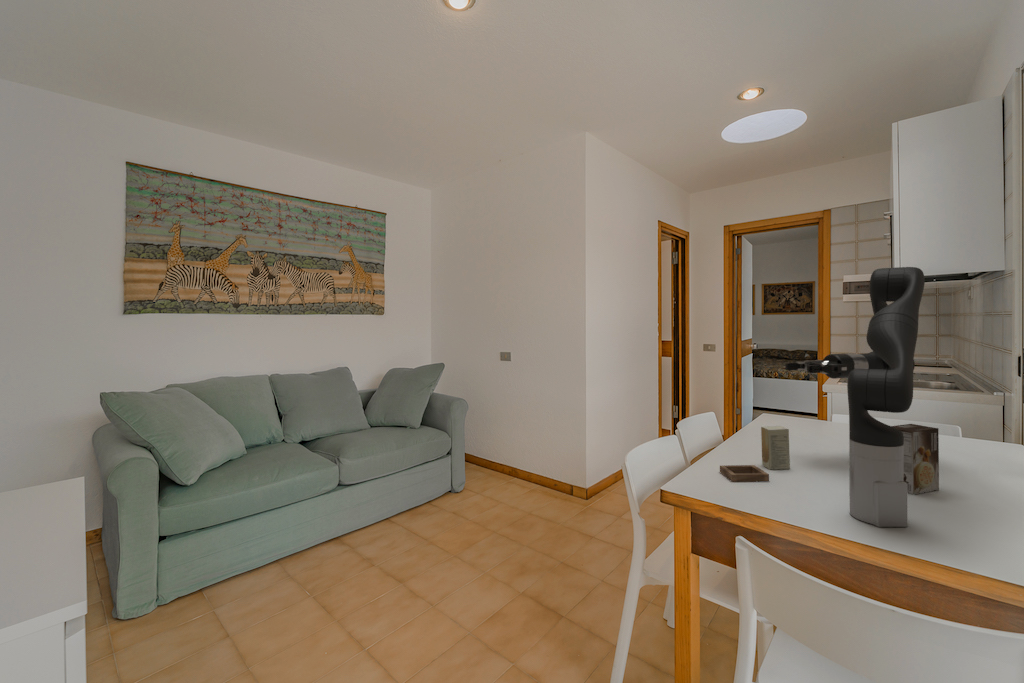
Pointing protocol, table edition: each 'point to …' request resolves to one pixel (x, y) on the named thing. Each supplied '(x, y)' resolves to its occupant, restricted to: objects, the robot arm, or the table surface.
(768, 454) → the skincare box
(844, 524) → the table surface
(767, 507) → the table surface
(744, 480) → the pocket collar
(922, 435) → the coffee box
